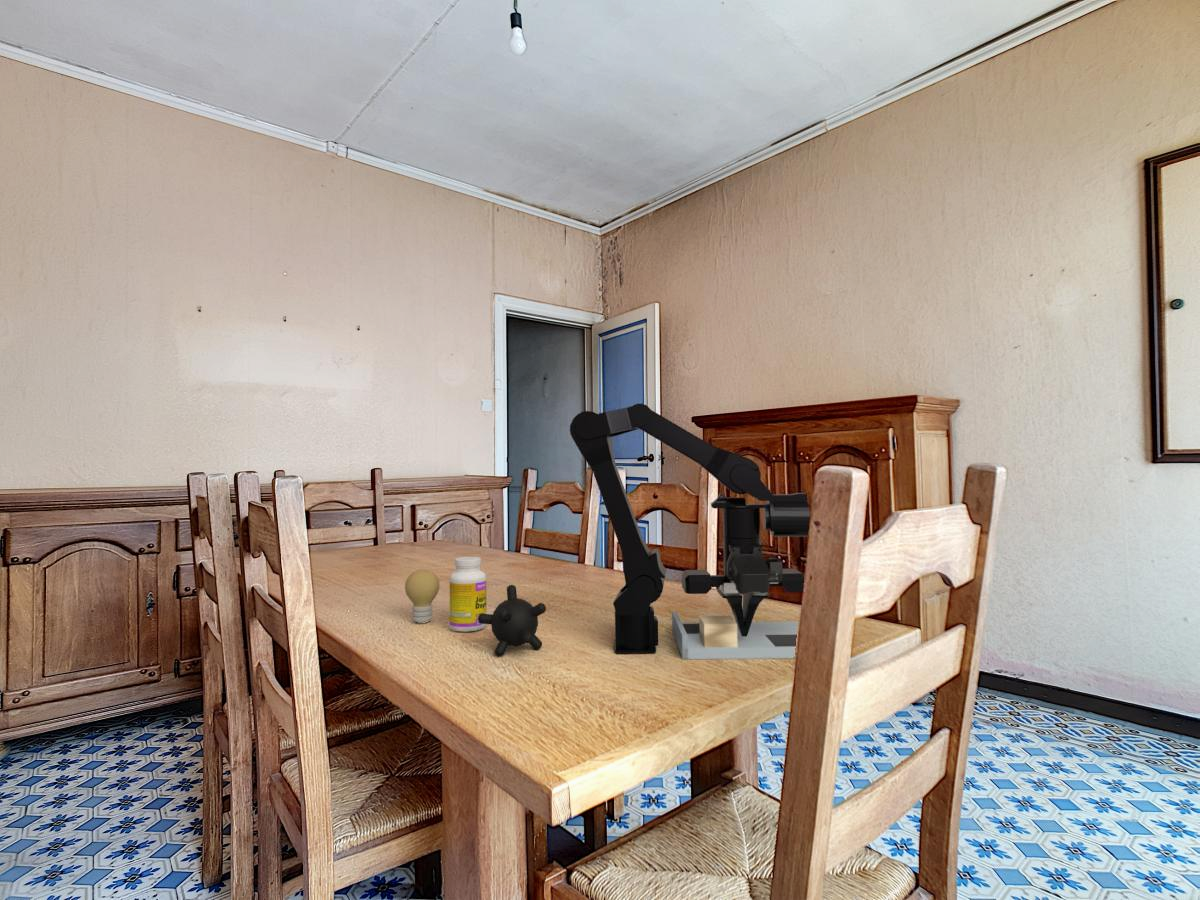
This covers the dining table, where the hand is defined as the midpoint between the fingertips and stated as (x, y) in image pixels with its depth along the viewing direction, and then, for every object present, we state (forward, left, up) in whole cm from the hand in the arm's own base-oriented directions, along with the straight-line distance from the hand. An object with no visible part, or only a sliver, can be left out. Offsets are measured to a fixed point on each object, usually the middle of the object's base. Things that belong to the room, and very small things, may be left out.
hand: (743, 635), depth 96 cm
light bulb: (-57, +20, -3) cm, 61 cm away
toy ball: (-36, +2, -3) cm, 36 cm away
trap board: (+1, +4, -2) cm, 5 cm away
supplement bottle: (-47, +15, -3) cm, 50 cm away
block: (-4, -1, -1) cm, 4 cm away
